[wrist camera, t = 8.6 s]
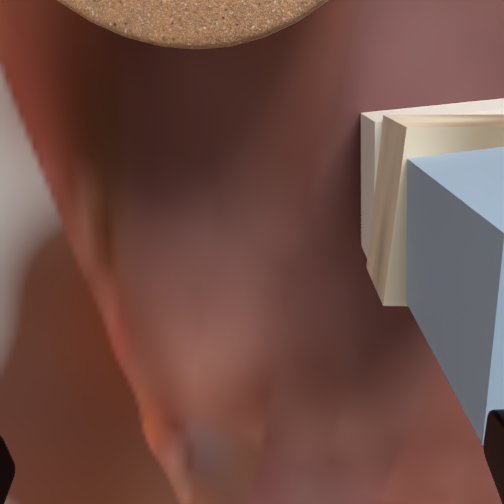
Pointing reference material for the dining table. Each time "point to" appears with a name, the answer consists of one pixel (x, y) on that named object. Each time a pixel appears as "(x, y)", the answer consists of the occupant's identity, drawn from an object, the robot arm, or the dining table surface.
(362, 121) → the slab bottom
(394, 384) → the dining table surface
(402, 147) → the slab top
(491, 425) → the robot arm
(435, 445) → the dining table surface
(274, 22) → the lidded jar
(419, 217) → the blue block
